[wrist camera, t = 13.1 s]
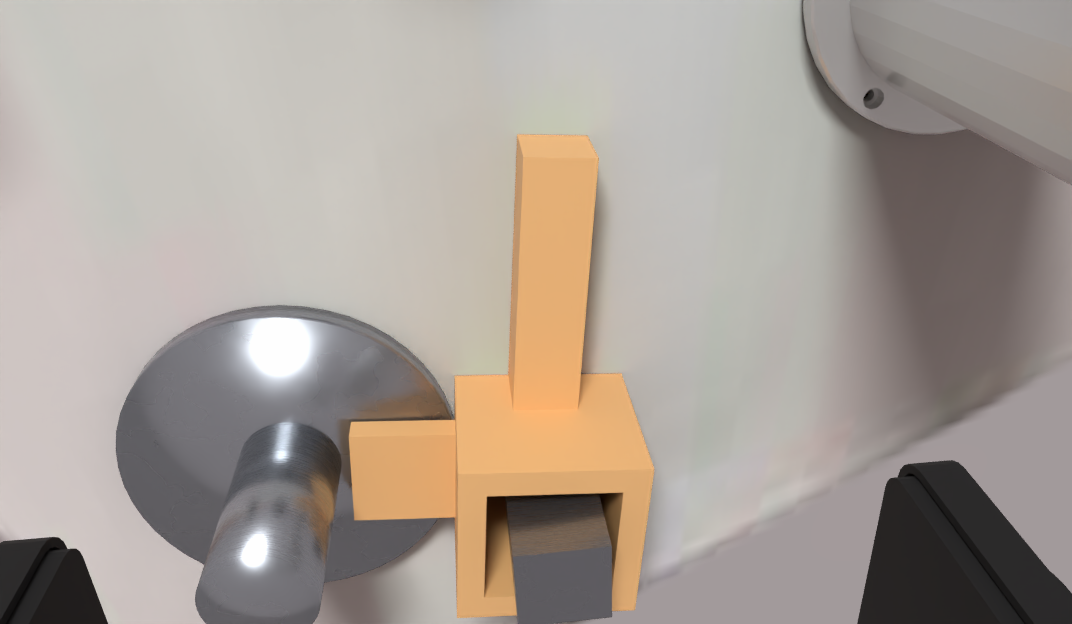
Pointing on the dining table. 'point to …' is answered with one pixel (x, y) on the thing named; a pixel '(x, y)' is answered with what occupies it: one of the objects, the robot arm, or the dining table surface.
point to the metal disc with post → (268, 454)
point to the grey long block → (559, 558)
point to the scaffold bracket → (523, 406)
